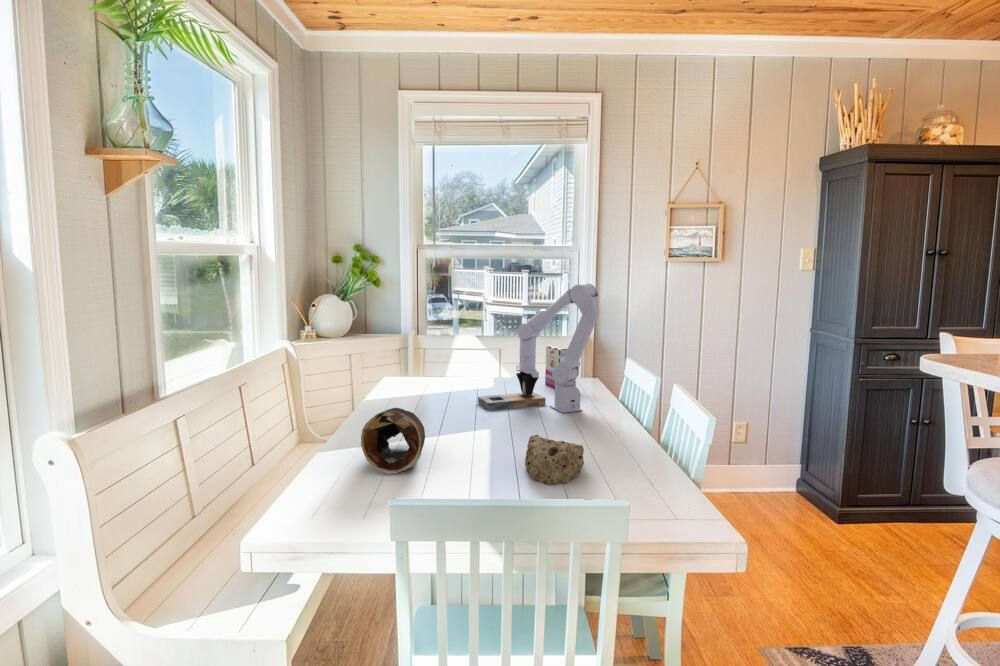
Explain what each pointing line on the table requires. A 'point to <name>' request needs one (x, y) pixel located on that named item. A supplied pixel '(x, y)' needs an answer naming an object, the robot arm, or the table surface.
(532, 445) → the rock
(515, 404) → the dock board
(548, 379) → the candy bar box
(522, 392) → the pin
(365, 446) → the hollow brown log
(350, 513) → the table surface
